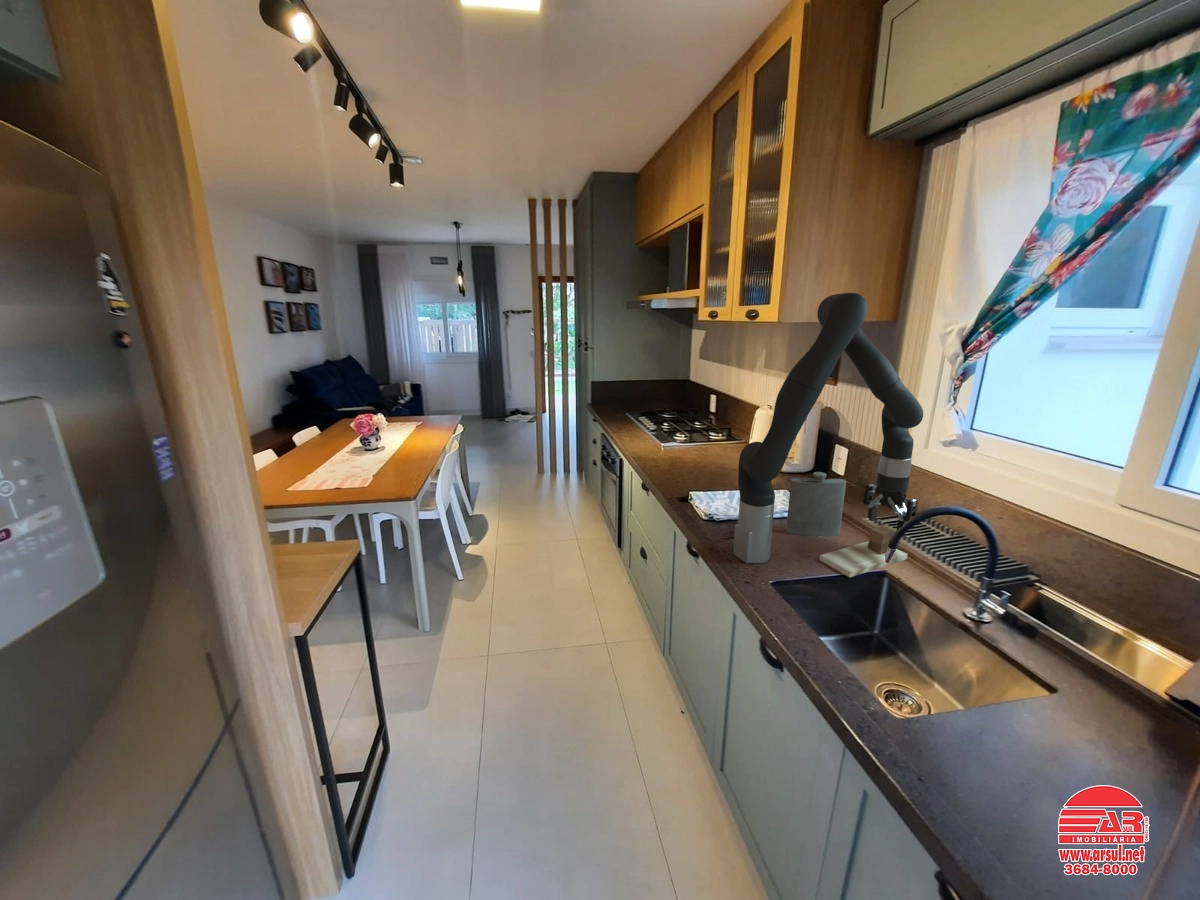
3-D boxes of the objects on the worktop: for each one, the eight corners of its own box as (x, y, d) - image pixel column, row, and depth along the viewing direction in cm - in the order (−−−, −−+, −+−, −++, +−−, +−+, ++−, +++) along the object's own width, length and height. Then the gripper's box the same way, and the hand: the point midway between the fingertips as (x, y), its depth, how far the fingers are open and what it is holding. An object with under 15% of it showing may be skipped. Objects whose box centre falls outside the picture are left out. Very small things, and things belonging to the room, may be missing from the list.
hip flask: (837, 530, 153) (844, 471, 147) (841, 536, 149) (850, 475, 143) (784, 529, 155) (790, 470, 149) (788, 535, 151) (794, 475, 145)
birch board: (849, 577, 128) (850, 572, 127) (819, 560, 136) (820, 554, 136) (906, 558, 136) (907, 553, 135) (874, 543, 145) (875, 538, 144)
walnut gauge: (880, 554, 135) (883, 534, 134) (867, 547, 139) (870, 528, 137) (895, 549, 138) (898, 530, 136) (882, 543, 141) (885, 524, 139)
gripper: (860, 466, 136) (854, 519, 141) (909, 482, 124) (900, 539, 129) (879, 462, 139) (872, 513, 144) (929, 477, 127) (919, 533, 131)
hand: (885, 526), depth 136 cm, fingers open, 8 cm apart
